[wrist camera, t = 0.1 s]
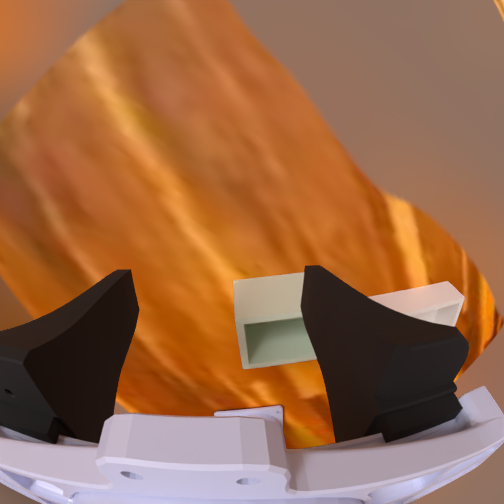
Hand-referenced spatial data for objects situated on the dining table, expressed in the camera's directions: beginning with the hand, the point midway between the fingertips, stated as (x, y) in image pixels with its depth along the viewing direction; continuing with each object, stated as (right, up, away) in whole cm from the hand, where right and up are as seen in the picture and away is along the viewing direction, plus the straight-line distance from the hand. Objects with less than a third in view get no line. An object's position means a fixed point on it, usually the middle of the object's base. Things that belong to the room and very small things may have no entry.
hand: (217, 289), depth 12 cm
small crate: (+4, -2, +13) cm, 14 cm away
